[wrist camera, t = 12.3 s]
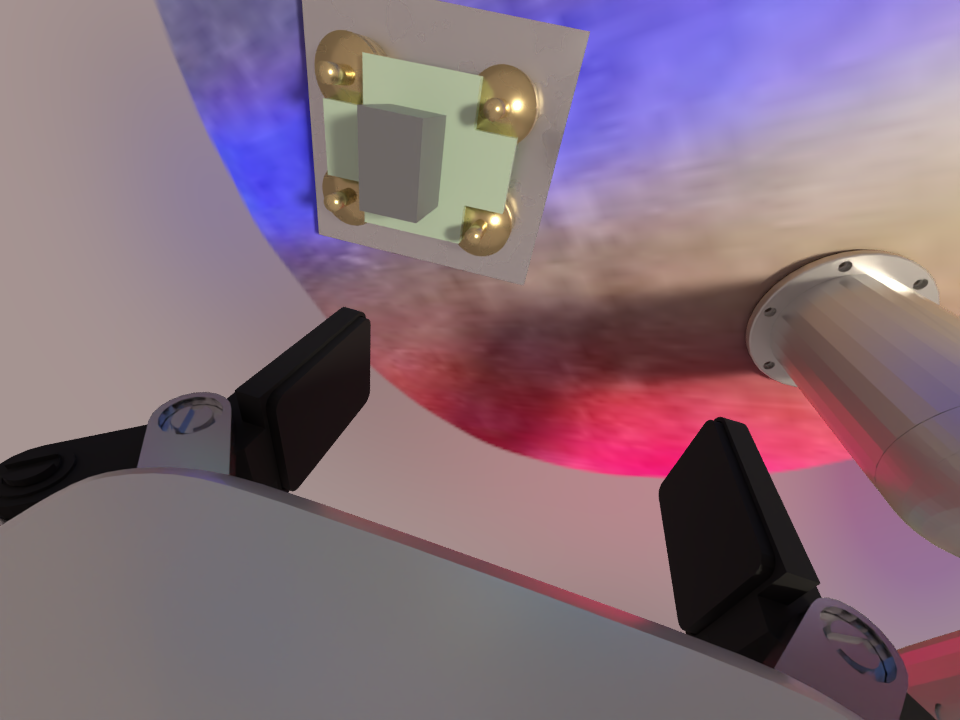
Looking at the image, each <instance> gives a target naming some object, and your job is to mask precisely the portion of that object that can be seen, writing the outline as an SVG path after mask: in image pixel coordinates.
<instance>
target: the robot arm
mask: <svg viewBox="0 0 960 720" xmlns="http://www.w3.org/2000/svg"><path fill="white" fill-rule="evenodd" d="M370 326H371V325H370V320H369V319H366V316H365V314H364V313H363V312H360V311H357V310H353V309H350V308H347V307H343V308H341V309H339V310H338V311H337V312H336V313H334V314H333V315H332V316H330V317H329V318H328V319H326V320H325V321H324V322H323V323H321V324H320V325H319V326H317V327H316V328H315V329H314V330H312V331H311V332H310V333H308V334H307V335H306V336H304V337H303V338H302V339H301V340H299V341H298V342H297V343H295V344H294V345H293V346H292V347H290V348H289V349H288V350H286V351H285V352H284V353H282V354H281V355H280V356H279V357H277V358H276V359H275V360H274V361H272V362H271V363H270V364H268V365H267V366H266V367H264V368H263V369H262V370H260V371H259V372H258V373H257V374H255V375H254V376H253V377H252V378H250V379H249V380H248V381H246V382H245V383H244V384H242V385H241V386H240V387H239V388H237V389H236V390H235V393H234V394H232V395H231V396H230V397H228V398H227V399H226V398H225V397H223V396H221V395H219V394H216V393H209V392H198V393H191V394H186V395H182V396H179V397H177V398H174V399H172V400H169V401H168V402H166V403H165V404H163V405H161V406H160V407H159V408H158V409H157V410H155V411H154V412H153V413H152V415H151V417H150V419H149V421H148V425H143V426H138V427H134V428H128V429H124V430H118V431H113V432H109V433H103V434H99V435H94V436H89V437H84V438H79V439H74V440H69V441H64V442H59V443H54V444H49V445H44V446H41V447H37V448H33V449H30V450H27V451H25V452H22V453H20V454H17V455H15V456H13V457H11V458H9V459H7V460H6V461H4V462H2V463H1V464H0V720H960V630H958V631H955V632H951V633H949V634H945V635H942V636H938V637H935V638H932V639H929V640H926V641H923V642H919V643H916V644H913V645H909V646H906V647H904V648H901V649H898V650H896V649H895V647H894V645H893V644H892V643H891V642H890V641H889V639H888V638H887V637H886V636H885V635H884V633H883V632H882V631H881V630H880V629H879V628H878V627H877V626H876V625H875V624H873V623H872V622H871V621H870V620H869V619H868V618H867V617H866V616H864V615H863V614H861V613H860V612H859V611H857V610H856V609H854V608H853V607H851V606H849V605H847V604H845V603H843V602H841V601H839V600H835V599H831V598H821V596H820V593H819V592H818V589H817V587H816V586H817V585H819V584H820V581H819V579H818V577H817V575H816V573H815V571H814V569H813V566H812V564H811V562H810V560H809V558H808V556H807V554H806V552H805V549H804V547H803V545H802V543H801V541H800V539H799V537H798V534H797V532H796V530H795V528H794V526H793V524H792V522H791V520H790V517H789V515H788V513H787V511H786V509H785V507H784V505H783V502H782V500H781V498H780V496H779V494H778V492H777V490H776V488H775V486H774V483H773V481H772V479H771V477H770V475H769V473H768V470H767V468H766V466H765V464H764V462H763V460H762V458H761V456H760V453H759V451H758V449H757V447H756V445H755V443H754V441H753V438H752V436H751V434H750V432H749V430H748V428H747V426H746V425H745V424H743V423H740V422H736V421H733V420H730V419H726V418H723V417H718V418H716V419H715V420H714V421H713V420H708V421H707V422H706V423H705V424H704V425H703V427H702V428H701V430H700V431H699V432H698V434H697V435H696V436H695V438H694V439H693V441H692V442H691V443H690V445H689V446H688V448H687V449H686V450H685V452H684V453H683V455H682V456H681V457H680V459H679V460H678V462H677V463H676V464H675V466H674V467H673V468H672V470H671V471H670V473H669V474H668V475H667V477H666V478H665V480H664V481H663V482H662V484H661V486H660V489H659V502H660V508H661V515H662V521H663V527H664V533H665V540H666V546H667V553H668V559H669V566H670V572H671V579H672V584H673V592H674V598H675V604H676V610H677V617H678V622H679V625H680V627H681V628H682V630H684V631H686V634H684V633H682V632H679V631H676V630H673V629H671V628H669V627H666V626H663V625H660V624H658V623H655V622H652V621H649V620H647V619H644V618H641V617H638V616H635V615H633V614H630V613H627V612H625V611H622V610H619V609H616V608H614V607H611V606H608V605H605V604H602V603H600V602H597V601H594V600H591V599H589V598H586V597H583V596H580V595H577V594H574V593H572V592H569V591H566V590H564V589H561V588H558V587H555V586H553V585H550V584H547V583H544V582H541V581H538V580H536V579H533V578H530V577H527V576H525V575H522V574H519V573H516V572H513V571H511V570H508V569H504V568H502V567H499V566H496V565H494V564H491V563H488V562H485V561H483V560H480V559H477V558H474V557H471V556H469V555H465V554H463V553H460V552H457V551H454V550H451V549H449V548H446V547H443V546H440V545H438V544H435V543H432V542H429V541H426V540H423V539H421V538H418V537H415V536H412V535H409V534H406V533H403V532H400V531H398V530H395V529H392V528H389V527H386V526H383V525H380V524H378V523H375V522H372V521H369V520H366V519H363V518H360V517H358V516H355V515H352V514H349V513H346V512H343V511H341V510H338V509H335V508H332V507H329V506H326V505H323V504H320V503H317V502H314V501H311V500H308V499H305V498H302V497H299V496H296V495H293V494H290V493H288V492H289V491H295V490H296V489H298V488H299V486H300V485H301V484H302V483H303V481H304V480H305V479H306V478H307V476H308V475H309V474H310V473H311V471H312V470H313V469H314V468H315V466H316V465H317V464H318V463H319V461H320V460H321V459H322V457H323V456H324V455H325V454H326V452H327V451H328V450H329V449H330V447H331V446H332V445H333V444H334V442H335V441H336V440H337V439H338V437H339V436H340V435H341V433H342V432H343V431H344V430H345V428H346V427H347V426H348V425H349V423H350V422H351V421H352V420H353V418H354V417H355V416H356V415H357V413H358V412H359V411H360V410H361V408H362V407H363V406H364V404H365V403H366V402H367V400H368V397H369V394H370ZM746 346H747V349H748V353H749V355H750V356H751V358H752V360H753V361H754V363H755V364H756V366H757V367H758V368H759V370H760V371H761V372H763V373H764V374H766V375H767V376H768V377H770V378H771V379H773V380H775V381H778V382H780V383H782V384H786V385H790V386H794V387H798V388H799V389H800V390H801V391H802V393H803V394H804V395H805V397H806V398H807V399H808V401H809V402H810V403H811V404H812V406H813V407H814V408H815V410H816V411H817V412H818V413H819V415H820V416H821V417H822V419H823V420H824V421H825V423H826V424H827V425H828V426H829V428H830V429H831V430H832V432H833V433H834V434H835V436H836V437H837V438H838V439H839V441H840V442H841V443H842V445H843V446H844V447H845V448H846V450H847V451H848V452H849V454H850V455H851V456H852V458H853V459H854V460H855V461H856V463H857V464H858V465H859V467H860V468H861V469H862V471H863V472H864V473H865V474H866V476H867V477H868V478H869V480H870V481H871V482H872V483H873V484H874V486H875V487H876V488H877V489H878V491H879V492H880V493H881V495H882V496H883V497H884V498H885V500H886V501H887V502H888V503H889V505H890V506H891V507H892V509H893V510H894V511H895V512H896V513H897V515H898V516H899V517H900V518H901V519H902V520H903V521H904V522H905V523H906V524H907V525H908V526H910V527H911V528H912V529H913V530H914V531H915V532H916V533H918V534H919V535H921V536H922V537H924V538H925V539H926V540H928V541H929V542H931V543H932V544H934V545H936V546H937V547H939V548H941V549H943V550H945V551H947V552H949V553H951V554H953V555H955V556H957V557H959V558H960V317H959V316H958V315H956V314H954V313H952V312H950V311H949V310H947V309H945V308H943V307H942V306H940V298H939V289H938V287H937V284H936V281H935V279H934V278H933V277H932V276H931V274H930V273H929V272H928V271H927V270H926V269H925V268H924V267H922V266H921V265H919V264H917V263H916V262H914V261H912V260H910V259H908V258H906V257H903V256H901V255H899V254H895V253H890V252H886V251H879V250H858V251H849V252H843V253H839V254H835V255H831V256H827V257H824V258H821V259H819V260H816V261H814V262H811V263H809V264H806V265H805V266H803V267H801V268H799V269H797V270H796V271H794V272H792V273H790V274H789V275H787V276H786V277H785V278H783V279H782V280H781V281H779V282H778V283H777V284H775V285H774V286H773V287H772V288H771V289H770V290H769V291H768V292H767V293H766V294H765V295H764V296H763V298H762V299H761V300H760V302H759V303H758V304H757V306H756V307H755V309H754V311H753V313H752V315H751V317H750V319H749V321H748V325H747V329H746Z"/></svg>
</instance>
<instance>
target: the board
mask: <svg viewBox="0 0 960 720" xmlns="http://www.w3.org/2000/svg"><path fill="white" fill-rule="evenodd" d="M362 60H363V104H361V105H360V104H355V103H350V102H345V101H341V100H336V99H331V98H323V109H324V124H325V140H326V155H327V170H328V175H332V176H336V177H340V178H345V179H349V180H354V181H358V182H359V210H360V211H364V212H365V222H367V223H371V224H376V225H380V226H384V227H389V228H393V229H397V230H401V231H406V232H410V233H414V234H419V235H423V236H427V237H431V238H436V239H440V240H444V241H449V242H453V243H457V244H459V243H460V242H461V239H462V231H463V224H464V217H465V209H466V206H469V207H473V208H478V209H482V210H487V211H491V212H495V213H500V214H503V212H504V208H505V203H506V198H507V193H508V188H509V182H510V177H511V172H512V167H513V162H514V156H515V151H516V146H517V141H518V138H516V137H512V136H507V135H502V134H497V133H493V132H488V131H483V130H478V129H476V128H477V120H478V113H479V105H480V98H481V91H482V83H483V76H479V75H474V74H469V73H464V72H459V71H454V70H449V69H444V68H439V67H434V66H429V65H424V64H419V63H414V62H409V61H404V60H399V59H394V58H389V57H384V56H379V55H374V54H369V53H364V52H362Z"/></svg>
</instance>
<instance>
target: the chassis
mask: <svg viewBox="0 0 960 720" xmlns="http://www.w3.org/2000/svg"><path fill="white" fill-rule="evenodd" d="M302 8H303V21H304V35H305V49H306V62H307V76H308V90H309V103H310V117H311V130H312V144H313V158H314V171H315V185H316V199H317V212H318V226H319V234H320V235H324V236H328V237H332V238H336V239H340V240H344V241H348V242H352V243H356V244H360V245H364V246H368V247H372V248H376V249H380V250H384V251H388V252H392V253H396V254H400V255H404V256H408V257H412V258H416V259H420V260H424V261H428V262H432V263H436V264H440V265H444V266H448V267H452V268H456V269H460V270H464V271H468V272H472V273H476V274H480V275H484V276H488V277H492V278H496V279H500V280H504V281H508V282H512V283H516V284H520V285H524V282H525V279H526V275H527V271H528V267H529V263H530V260H531V256H532V252H533V248H534V244H535V240H536V237H537V233H538V229H539V225H540V221H541V218H542V214H543V210H544V206H545V202H546V198H547V195H548V191H549V187H550V183H551V179H552V175H553V172H554V168H555V164H556V160H557V156H558V152H559V149H560V145H561V141H562V137H563V133H564V130H565V126H566V122H567V118H568V114H569V110H570V107H571V103H572V99H573V95H574V91H575V87H576V84H577V80H578V76H579V72H580V68H581V65H582V61H583V57H584V53H585V49H586V45H587V42H588V38H589V34H590V32H589V31H584V30H579V29H574V28H569V27H564V26H559V25H555V24H550V23H545V22H540V21H535V20H530V19H525V18H520V17H515V16H510V15H505V14H500V13H496V12H491V11H486V10H481V9H476V8H471V7H466V6H461V5H456V4H451V3H446V2H441V1H436V0H302ZM362 52H364V53H369V54H374V55H379V56H384V57H389V58H394V59H399V60H404V61H409V62H414V63H419V64H424V65H429V66H434V67H439V68H444V69H449V70H454V71H459V72H464V73H469V74H474V75H479V76H483V83H482V91H481V98H480V105H479V113H478V120H477V128H476V129H478V130H483V131H488V132H493V133H497V134H502V135H507V136H512V137H516V138H518V141H517V146H516V151H515V156H514V162H513V167H512V172H511V177H510V182H509V188H508V193H507V198H506V203H505V208H504V212H503V214H500V213H495V212H491V211H487V210H482V209H478V208H473V207H469V206H466V209H465V217H464V224H463V231H462V239H461V242H460V243H459V244H457V243H453V242H449V241H444V240H440V239H436V238H431V237H427V236H423V235H419V234H414V233H410V232H406V231H401V230H397V229H393V228H389V227H384V226H380V225H376V224H371V223H367V222H365V212H364V211H360V210H359V182H358V181H354V180H349V179H345V178H340V177H336V176H332V175H328V170H327V155H326V140H325V124H324V109H323V98H331V99H336V100H341V101H345V102H350V103H355V104H360V105H361V104H363V60H362Z"/></svg>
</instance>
